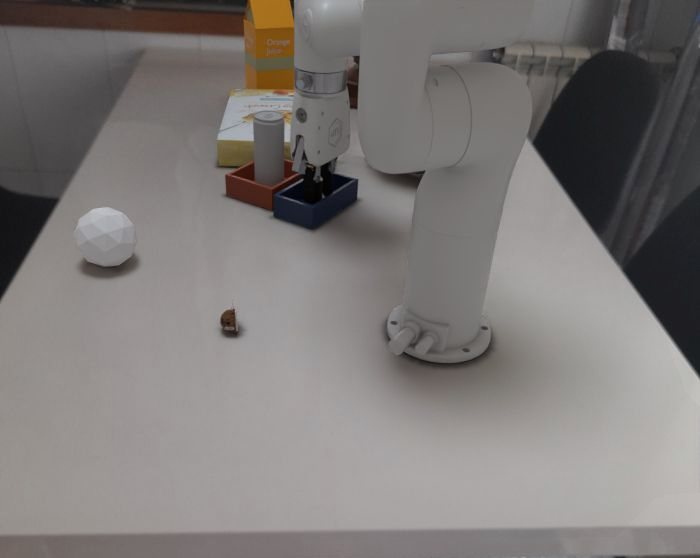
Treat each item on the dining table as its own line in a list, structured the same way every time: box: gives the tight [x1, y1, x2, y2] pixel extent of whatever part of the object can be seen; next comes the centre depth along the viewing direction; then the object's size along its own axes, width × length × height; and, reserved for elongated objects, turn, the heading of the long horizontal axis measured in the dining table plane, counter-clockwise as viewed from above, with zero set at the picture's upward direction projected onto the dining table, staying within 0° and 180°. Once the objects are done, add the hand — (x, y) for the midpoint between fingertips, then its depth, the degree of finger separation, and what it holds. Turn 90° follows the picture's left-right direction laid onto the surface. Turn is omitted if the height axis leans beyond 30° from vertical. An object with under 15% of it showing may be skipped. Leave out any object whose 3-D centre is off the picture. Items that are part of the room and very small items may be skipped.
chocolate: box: [219, 299, 239, 334], centre depth 85 cm, size 3×2×4 cm
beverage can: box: [253, 110, 285, 187], centre depth 114 cm, size 5×5×12 cm
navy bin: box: [272, 171, 359, 230], centre depth 113 cm, size 13×7×4 cm, turn 149°
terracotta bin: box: [224, 159, 313, 212], centre depth 117 cm, size 11×9×4 cm
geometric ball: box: [73, 206, 138, 268], centre depth 95 cm, size 8×8×8 cm
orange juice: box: [243, 0, 294, 90], centre depth 153 cm, size 8×9×20 cm
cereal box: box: [216, 88, 313, 169], centre depth 135 cm, size 20×6×28 cm
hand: (317, 199), depth 113 cm, fingers closed
